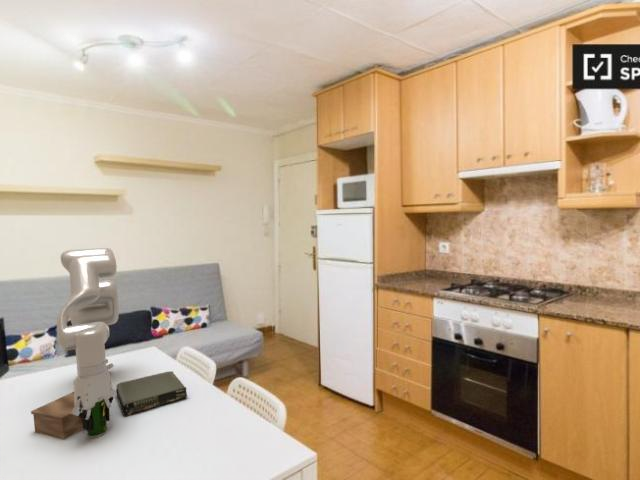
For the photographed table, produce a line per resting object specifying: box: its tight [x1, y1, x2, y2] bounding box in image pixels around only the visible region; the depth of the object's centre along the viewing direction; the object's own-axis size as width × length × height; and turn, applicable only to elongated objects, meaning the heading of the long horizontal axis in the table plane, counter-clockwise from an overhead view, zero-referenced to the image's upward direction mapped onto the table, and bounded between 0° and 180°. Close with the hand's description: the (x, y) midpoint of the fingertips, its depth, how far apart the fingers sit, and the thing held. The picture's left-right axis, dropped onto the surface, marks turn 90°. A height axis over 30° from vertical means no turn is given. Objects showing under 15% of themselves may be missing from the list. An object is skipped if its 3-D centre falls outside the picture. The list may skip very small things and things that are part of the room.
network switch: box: [115, 370, 187, 417], centre depth 148 cm, size 23×23×5 cm
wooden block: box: [30, 391, 86, 440], centre depth 131 cm, size 16×14×7 cm
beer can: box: [86, 397, 108, 439], centre depth 124 cm, size 5×5×12 cm
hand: (96, 424), depth 124 cm, fingers closed on beer can, 5 cm apart
